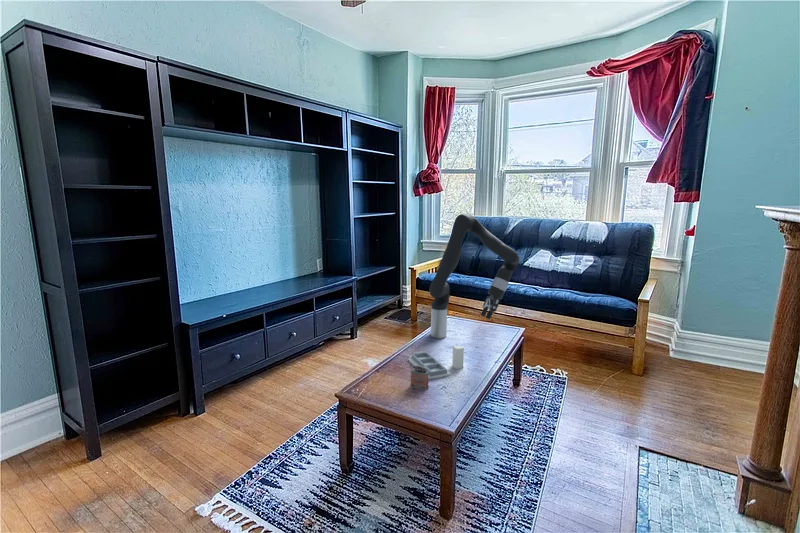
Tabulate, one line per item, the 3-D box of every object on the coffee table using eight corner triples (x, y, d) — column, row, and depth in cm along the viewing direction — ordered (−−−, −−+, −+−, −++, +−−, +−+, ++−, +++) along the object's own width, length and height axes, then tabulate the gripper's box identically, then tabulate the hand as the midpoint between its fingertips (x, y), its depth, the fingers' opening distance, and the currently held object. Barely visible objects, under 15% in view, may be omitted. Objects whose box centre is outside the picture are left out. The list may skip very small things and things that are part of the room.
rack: (408, 360, 197) (408, 354, 196) (429, 356, 201) (429, 351, 201) (427, 379, 177) (427, 373, 176) (450, 375, 181) (450, 368, 181)
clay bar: (452, 365, 191) (453, 346, 189) (459, 364, 193) (460, 345, 191) (455, 368, 188) (456, 349, 186) (463, 367, 190) (463, 347, 188)
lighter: (429, 386, 170) (429, 365, 169) (427, 390, 167) (427, 368, 165) (411, 383, 173) (412, 362, 171) (409, 387, 170) (409, 366, 168)
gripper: (487, 283, 202) (474, 312, 202) (496, 285, 188) (482, 316, 188) (500, 289, 203) (487, 318, 203) (509, 292, 189) (496, 322, 189)
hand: (485, 317), depth 195 cm, fingers open, 8 cm apart
